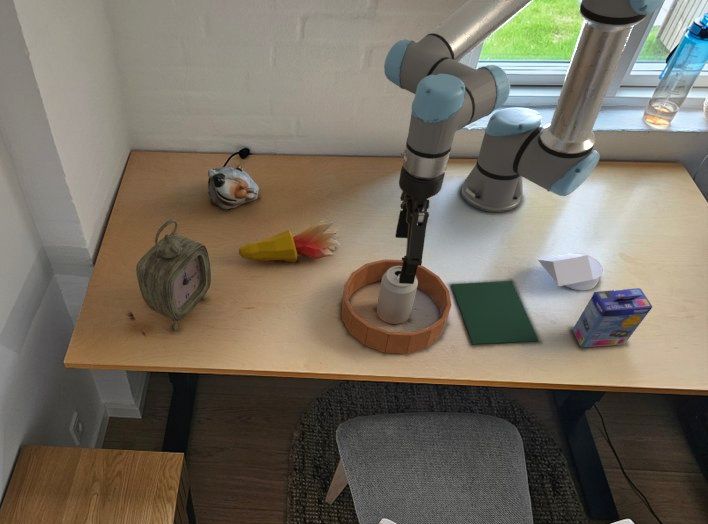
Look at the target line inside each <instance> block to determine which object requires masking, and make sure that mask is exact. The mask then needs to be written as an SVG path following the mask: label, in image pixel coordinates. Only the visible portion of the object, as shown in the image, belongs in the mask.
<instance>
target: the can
mask: <svg viewBox="0 0 708 524" xmlns="http://www.w3.org/2000/svg"><path fill="white" fill-rule="evenodd" d="M401 269H402V266H394V267H391V268H390V269H388V270H387V272H386V273H385V274H384V275H383V277H382V280H381V281H380V286H379V287H380V288H379V293H378V299H377V304H376V314H377V316H378V317H379V318H380V320H382V321H384V322H385V323H388V324H392V325H398V324H403V323H405V322H407V321H408V320H409V319H410V316H411V314H412V310H413V305H414V301H415V298H416V294H417V290H418V287H417V286H418V280H417V278H416V275H415V279H414V284H403V283H399V279H400V274H401Z"/></svg>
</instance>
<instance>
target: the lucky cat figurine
mask: <svg viewBox="0 0 708 524" xmlns="http://www.w3.org/2000/svg"><path fill="white" fill-rule="evenodd" d="M207 176H208V181H207V194H208V195H209V196H210V199H211V201H212V203H213V204H214V205H216V206H218V207H219V208H220V209H223V210H226V211H227V210H229V209H235V208H237V207H239V206H241V205H244V204H246V203H249V202H253V201H256V200H258V198H259V193H260V187H259V185H258V184H257V183H256V182H255V181H254V180H253V179H252V177H251V176H250V175H249V173H247V171H245V170H244V168H243V166H242V165H240V164H239V165H237V166H236V167H235V166H226V165H225V166H220V167H216V168H214V167H211V168H210V169H209V170H208V171H207Z"/></svg>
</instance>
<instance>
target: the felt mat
mask: <svg viewBox="0 0 708 524" xmlns="http://www.w3.org/2000/svg"><path fill="white" fill-rule="evenodd" d="M450 286H451V288H452V292H453V295H454V296H455V301H456V303H457V306H458V308H459V311H460V314H461V316H462V320H463V322H464V325H465V329H466V330H467V333H468V337H469V339H470V341H471V344H472V346H480V345H497V344H515V343H516V344H517V343H534V342H535V343H537V342H539V338H538V336H537V334H536V332H535V329H534V327H533V325H532V323H531V320H530V318H529V316H528V314H527V311H526V310H525V307H524V305H523V302H522V300H521V298H520V295H519V294H518V292H517V289H516V287H515V285H514V283H513V281H512V280H504V281H487V282H486V281H484V282H483V281H481V282H466V283H465V282H464V283H451V285H450Z"/></svg>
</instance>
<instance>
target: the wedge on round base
mask: <svg viewBox="0 0 708 524" xmlns="http://www.w3.org/2000/svg"><path fill="white" fill-rule="evenodd" d="M537 261H538V262H539V263H540V265H541V266H542V267H543V268H544V270H545V271H546V272H547V274H548V275H549V276H550V278H552V280H553V281H554V283H555V284H556V285H557V286H558V287H562V286H565V287H567V288H569V289H571V290H574V291H589V290H591V289H594V288H595V287H596V286H597V284H598V283H599V280H600V279H601V277H602V275H603V273H604V267H603V265H602V263H601V262H600V261H599V260H598V259H597V258H595V257H593V256H591V255H590V254H586V253H582V252H570V253H565V254H559V255H555V256H548V257H543V258H539V259H537Z"/></svg>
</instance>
